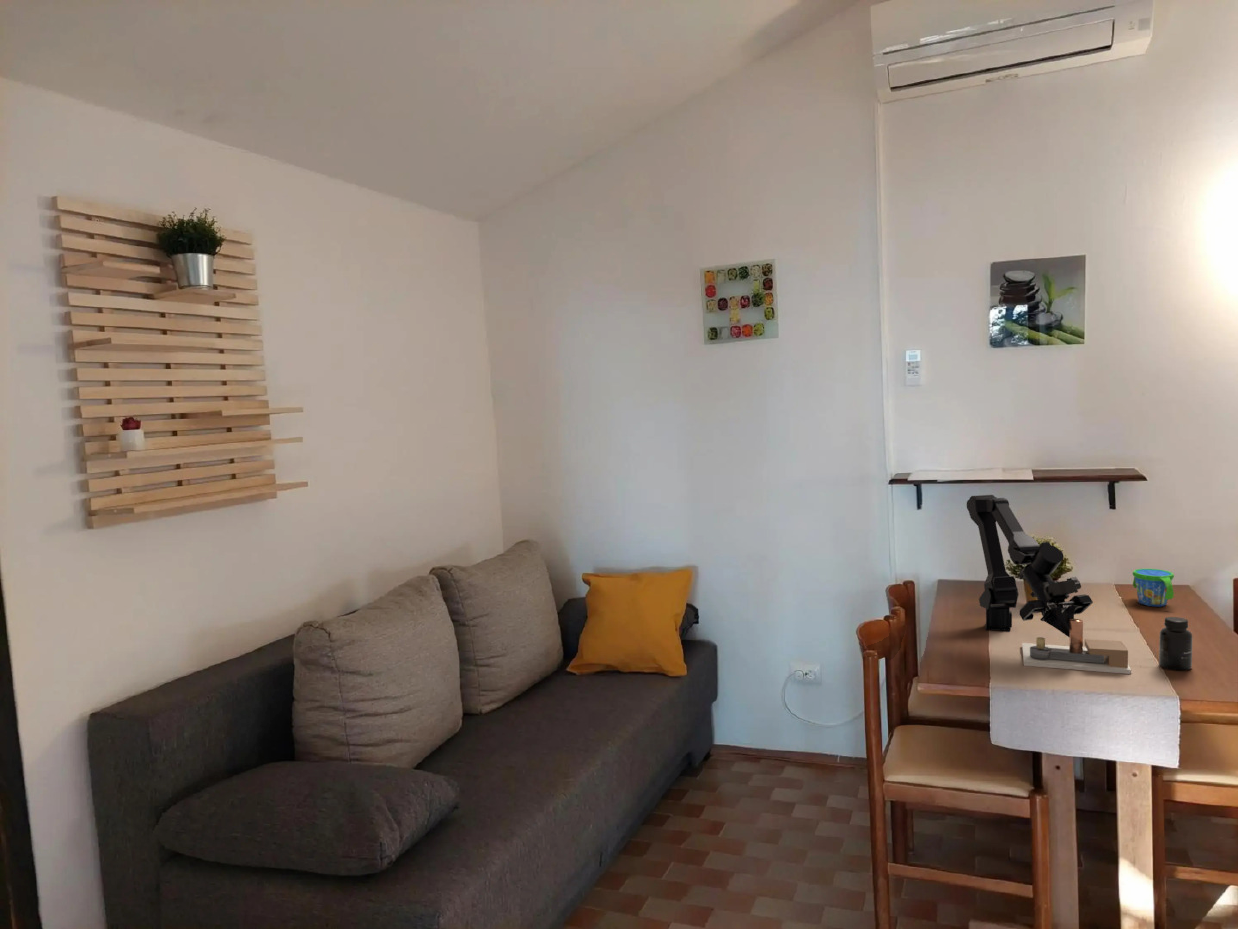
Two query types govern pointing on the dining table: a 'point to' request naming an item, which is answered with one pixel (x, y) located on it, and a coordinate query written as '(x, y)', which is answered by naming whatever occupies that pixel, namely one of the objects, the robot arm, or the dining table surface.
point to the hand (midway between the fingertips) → (1073, 636)
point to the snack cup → (1153, 586)
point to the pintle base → (1113, 662)
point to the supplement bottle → (1175, 645)
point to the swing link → (1074, 649)
